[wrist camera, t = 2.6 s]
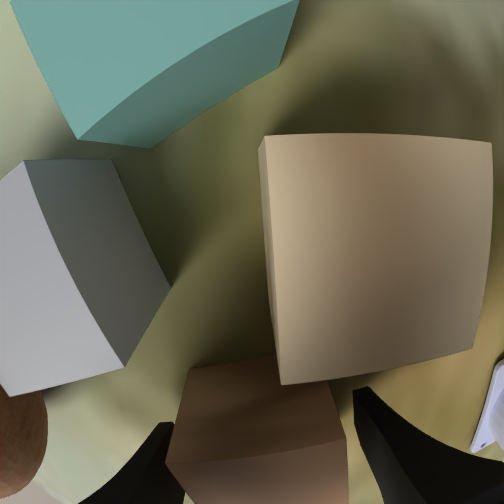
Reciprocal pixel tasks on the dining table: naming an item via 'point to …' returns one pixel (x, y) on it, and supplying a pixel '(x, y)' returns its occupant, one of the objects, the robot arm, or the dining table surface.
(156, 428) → the robot arm
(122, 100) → the teal cube
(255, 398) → the walnut cube
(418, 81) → the dining table surface
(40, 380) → the grey cube
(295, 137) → the maple cube
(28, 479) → the onion
